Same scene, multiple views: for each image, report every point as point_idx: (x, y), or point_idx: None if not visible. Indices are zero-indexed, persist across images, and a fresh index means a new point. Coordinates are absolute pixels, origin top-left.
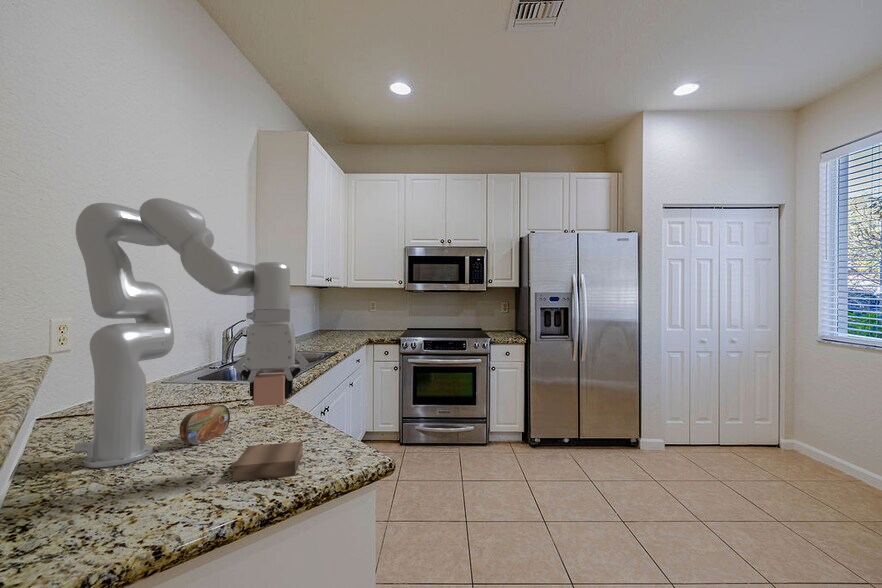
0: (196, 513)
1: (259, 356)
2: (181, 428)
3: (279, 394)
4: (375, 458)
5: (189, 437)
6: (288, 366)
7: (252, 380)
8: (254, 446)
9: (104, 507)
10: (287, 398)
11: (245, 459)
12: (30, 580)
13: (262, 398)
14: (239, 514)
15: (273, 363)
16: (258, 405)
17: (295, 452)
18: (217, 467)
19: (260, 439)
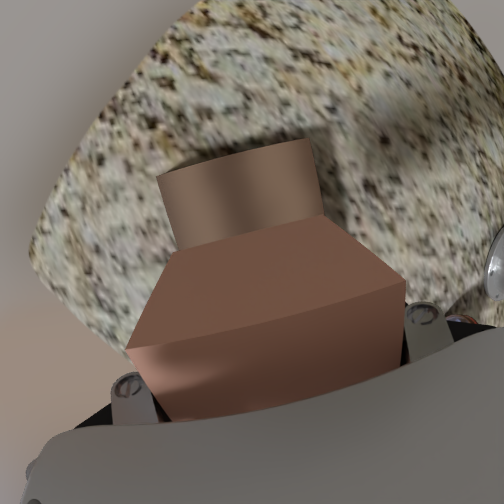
0: (290, 15)
1: (490, 496)
2: (476, 323)
3: (185, 269)
4: (47, 271)
5: (456, 320)
6: (67, 432)
7: (409, 319)
8: None
9: (445, 69)
10: None
11: (298, 180)
12: None
13: (286, 236)
14: (205, 11)
15: (224, 473)
16: (300, 221)
17: (181, 232)
18: (369, 216)
19: None
